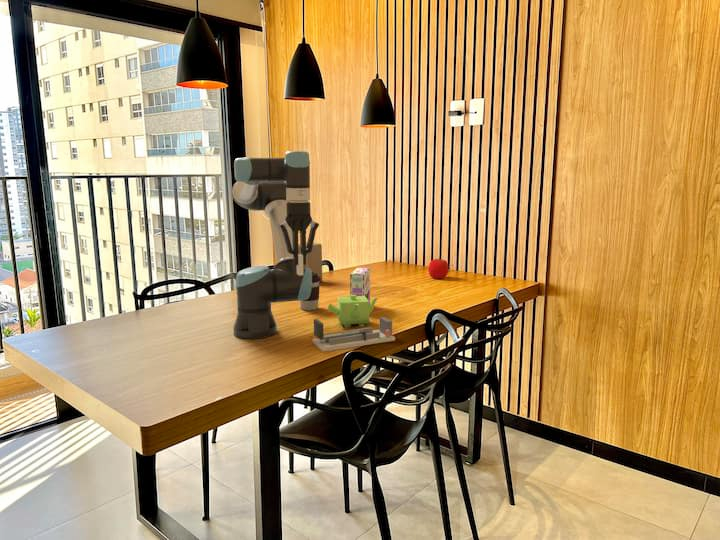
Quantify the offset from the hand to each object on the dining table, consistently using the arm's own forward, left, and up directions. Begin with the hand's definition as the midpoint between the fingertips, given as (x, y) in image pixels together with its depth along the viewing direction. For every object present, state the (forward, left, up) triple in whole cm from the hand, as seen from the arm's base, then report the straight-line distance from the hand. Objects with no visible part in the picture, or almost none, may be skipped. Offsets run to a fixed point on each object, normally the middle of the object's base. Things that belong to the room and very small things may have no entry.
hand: (300, 274), depth 167 cm
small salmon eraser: (+27, -9, -22) cm, 36 cm away
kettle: (+25, +13, -24) cm, 37 cm away
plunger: (+11, -6, -22) cm, 26 cm away
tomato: (+99, +71, -24) cm, 124 cm away
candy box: (+36, +32, -24) cm, 54 cm away
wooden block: (+34, +92, -24) cm, 101 cm away
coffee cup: (+17, +42, -24) cm, 51 cm away
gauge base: (+17, -5, -24) cm, 29 cm away
